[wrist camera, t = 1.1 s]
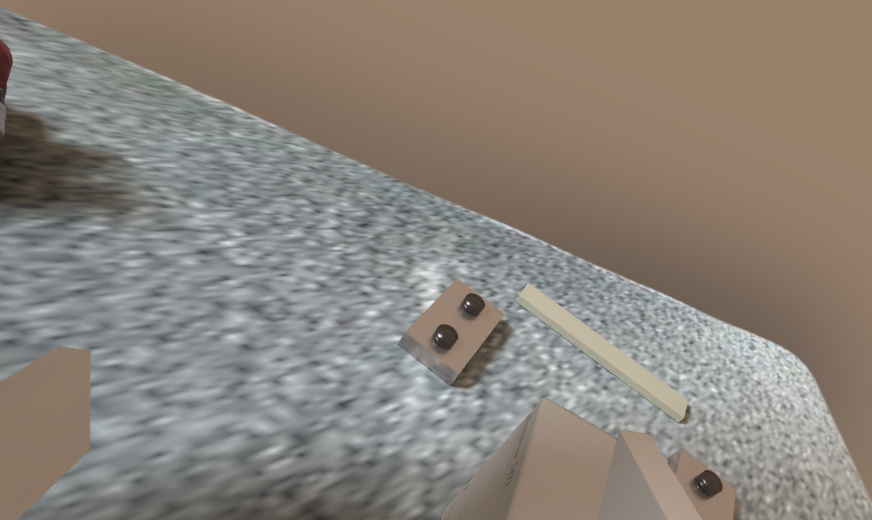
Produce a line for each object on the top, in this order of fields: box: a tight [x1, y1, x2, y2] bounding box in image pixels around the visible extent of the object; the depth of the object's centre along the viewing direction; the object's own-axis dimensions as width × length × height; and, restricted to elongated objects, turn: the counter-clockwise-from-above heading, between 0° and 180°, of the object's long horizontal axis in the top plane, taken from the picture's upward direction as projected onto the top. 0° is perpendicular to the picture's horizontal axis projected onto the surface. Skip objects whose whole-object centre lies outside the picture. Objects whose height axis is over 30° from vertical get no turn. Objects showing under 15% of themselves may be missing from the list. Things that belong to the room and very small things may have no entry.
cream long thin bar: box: [515, 283, 688, 423], centre depth 43 cm, size 14×2×1 cm, turn 60°
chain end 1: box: [398, 279, 504, 386], centre depth 38 cm, size 4×7×2 cm, turn 150°
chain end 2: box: [668, 448, 736, 520], centre depth 35 cm, size 4×7×2 cm, turn 150°
